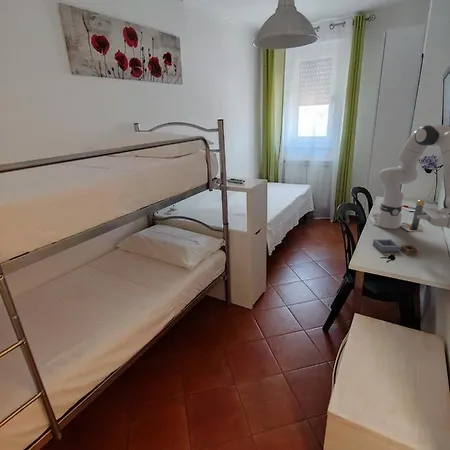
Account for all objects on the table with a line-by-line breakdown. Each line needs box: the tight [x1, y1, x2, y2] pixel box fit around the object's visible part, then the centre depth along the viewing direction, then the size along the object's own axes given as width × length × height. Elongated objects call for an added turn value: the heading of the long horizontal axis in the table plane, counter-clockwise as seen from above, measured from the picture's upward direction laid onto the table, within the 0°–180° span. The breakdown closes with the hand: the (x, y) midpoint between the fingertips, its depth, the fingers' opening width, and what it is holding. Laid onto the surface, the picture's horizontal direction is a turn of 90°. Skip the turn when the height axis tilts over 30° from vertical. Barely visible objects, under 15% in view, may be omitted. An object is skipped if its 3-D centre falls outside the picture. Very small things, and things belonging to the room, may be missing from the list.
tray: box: [372, 238, 401, 254], centre depth 169 cm, size 10×10×4 cm
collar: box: [400, 244, 420, 256], centre depth 165 cm, size 6×6×3 cm
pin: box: [410, 199, 425, 231], centre depth 158 cm, size 4×4×16 cm
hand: (415, 214), depth 158 cm, fingers closed on pin, 3 cm apart
